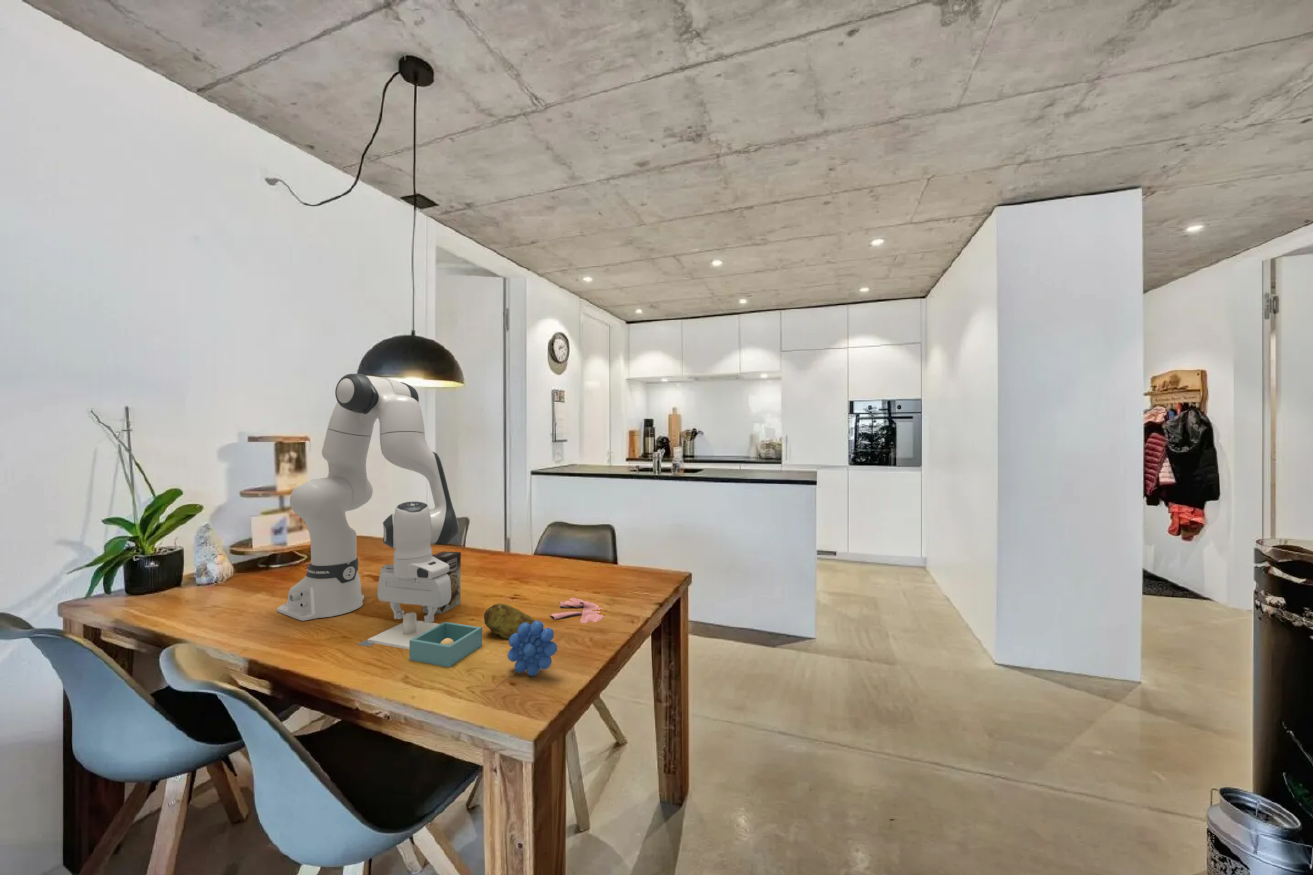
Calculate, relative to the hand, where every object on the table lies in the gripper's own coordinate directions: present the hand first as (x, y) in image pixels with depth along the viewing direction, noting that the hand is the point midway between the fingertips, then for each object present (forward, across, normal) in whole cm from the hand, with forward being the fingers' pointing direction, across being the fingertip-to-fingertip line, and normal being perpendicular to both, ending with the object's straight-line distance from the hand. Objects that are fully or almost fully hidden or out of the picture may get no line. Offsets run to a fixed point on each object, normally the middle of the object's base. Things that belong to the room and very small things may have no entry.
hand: (414, 620), depth 119 cm
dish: (+4, +15, -6) cm, 17 cm away
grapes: (+5, +39, -8) cm, 40 cm away
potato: (+5, +24, +7) cm, 25 cm away
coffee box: (+4, -6, +17) cm, 19 cm away
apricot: (+4, +15, -6) cm, 17 cm away
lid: (+4, -1, -1) cm, 4 cm away
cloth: (+6, +31, +28) cm, 42 cm away
